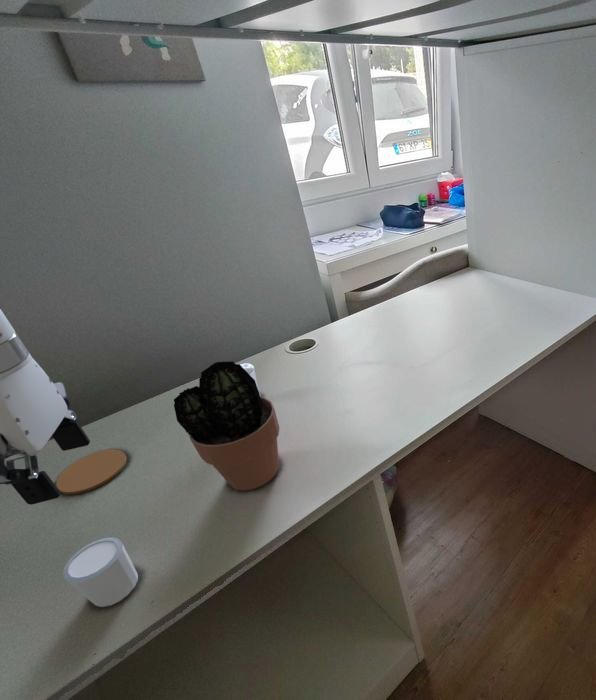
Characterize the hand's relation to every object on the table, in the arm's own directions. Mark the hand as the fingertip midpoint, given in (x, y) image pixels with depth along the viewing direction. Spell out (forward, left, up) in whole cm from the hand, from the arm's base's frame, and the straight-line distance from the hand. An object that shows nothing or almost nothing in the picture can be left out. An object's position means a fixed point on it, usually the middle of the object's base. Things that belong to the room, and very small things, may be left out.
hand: (62, 471), depth 57 cm
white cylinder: (-1, -3, -21) cm, 21 cm away
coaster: (-13, +26, -21) cm, 36 cm away
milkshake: (+15, +39, -21) cm, 47 cm away
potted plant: (+17, +14, -21) cm, 30 cm away
